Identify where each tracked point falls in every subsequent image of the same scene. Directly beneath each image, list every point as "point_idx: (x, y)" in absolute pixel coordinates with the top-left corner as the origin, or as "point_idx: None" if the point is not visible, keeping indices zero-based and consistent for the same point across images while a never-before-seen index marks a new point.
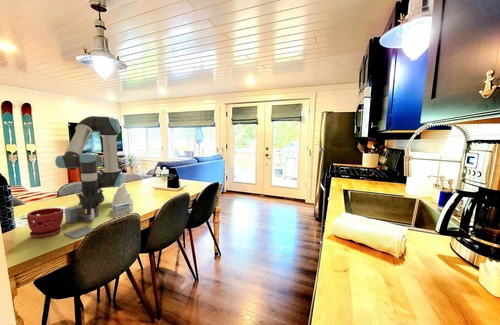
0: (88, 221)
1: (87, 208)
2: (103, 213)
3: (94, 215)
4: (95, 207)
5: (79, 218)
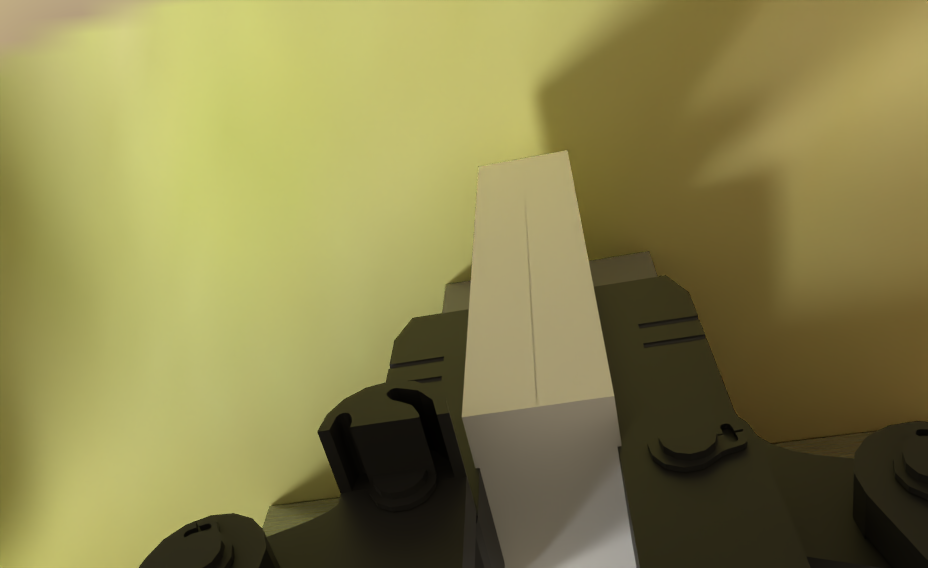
0: (602, 261)
1: (816, 492)
2: None
3: None
4: (387, 418)
5: None
